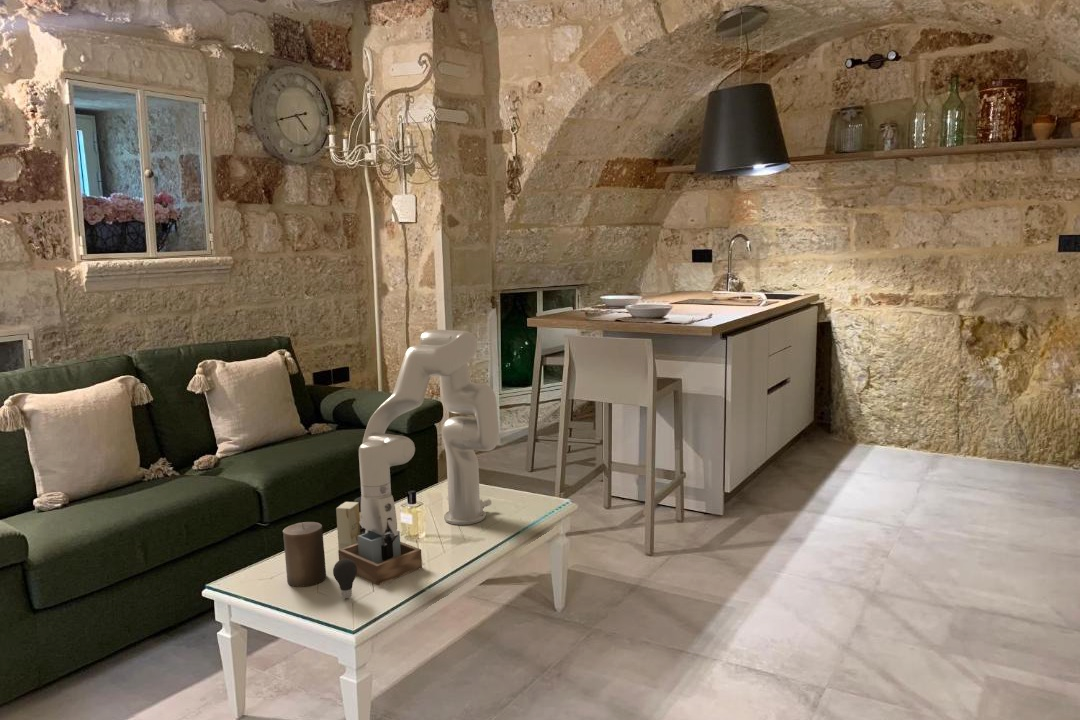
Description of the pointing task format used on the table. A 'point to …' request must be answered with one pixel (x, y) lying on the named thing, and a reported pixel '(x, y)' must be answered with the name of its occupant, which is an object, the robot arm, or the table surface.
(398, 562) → the walnut crate
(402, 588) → the table surface
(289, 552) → the pillar candle
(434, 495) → the table surface
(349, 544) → the skincare box
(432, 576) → the table surface
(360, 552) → the grey crate
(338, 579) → the light bulb
